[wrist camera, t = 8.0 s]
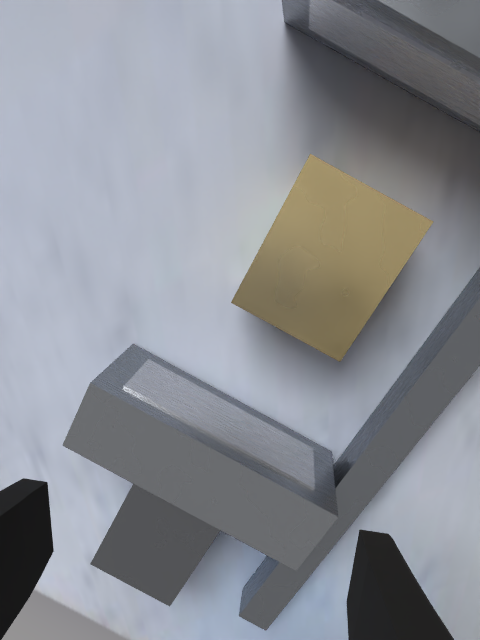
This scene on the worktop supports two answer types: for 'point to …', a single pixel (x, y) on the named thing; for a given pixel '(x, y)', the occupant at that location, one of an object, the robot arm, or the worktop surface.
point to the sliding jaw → (196, 474)
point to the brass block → (329, 258)
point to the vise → (469, 308)
